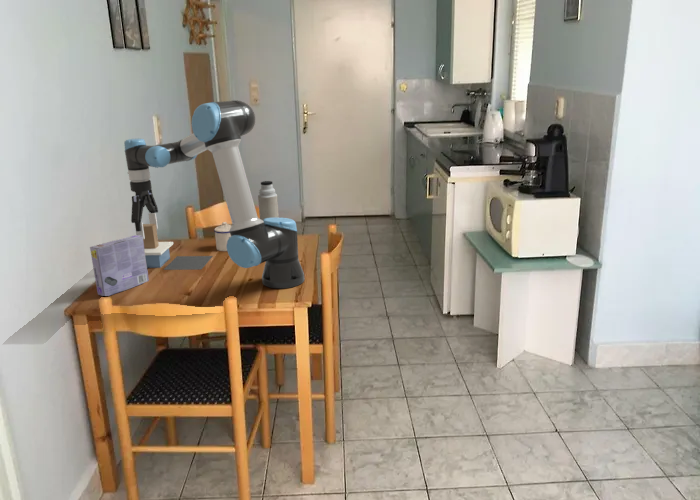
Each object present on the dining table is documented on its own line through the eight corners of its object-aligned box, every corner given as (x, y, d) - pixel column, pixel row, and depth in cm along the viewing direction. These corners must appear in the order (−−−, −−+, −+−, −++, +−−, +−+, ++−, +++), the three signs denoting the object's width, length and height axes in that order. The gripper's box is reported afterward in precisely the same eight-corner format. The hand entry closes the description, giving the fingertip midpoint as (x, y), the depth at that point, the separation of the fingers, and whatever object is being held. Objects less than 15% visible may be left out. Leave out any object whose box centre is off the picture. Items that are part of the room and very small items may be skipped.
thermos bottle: (273, 242, 252) (268, 179, 243) (284, 245, 246) (280, 181, 237) (258, 246, 246) (253, 182, 238) (269, 249, 241) (264, 184, 232)
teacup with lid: (230, 253, 238) (227, 226, 235) (211, 251, 242) (209, 224, 238) (245, 244, 249) (243, 218, 245) (227, 242, 252) (225, 217, 249)
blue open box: (160, 268, 222) (158, 253, 220) (132, 268, 223) (130, 254, 221) (170, 259, 233) (168, 245, 231) (143, 259, 233) (141, 245, 231)
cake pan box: (144, 278, 212) (137, 232, 207) (152, 280, 210) (145, 234, 204) (96, 295, 197) (88, 246, 192) (105, 298, 195) (96, 249, 189)
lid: (160, 255, 219) (157, 229, 216) (125, 255, 220) (121, 230, 216) (173, 244, 232) (170, 220, 229) (139, 244, 233) (136, 220, 230)
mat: (201, 270, 219) (201, 269, 219) (163, 270, 220) (163, 269, 220) (213, 256, 234) (213, 255, 234) (177, 257, 235) (177, 256, 235)
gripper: (143, 174, 229) (150, 225, 236) (116, 187, 206) (125, 243, 212) (161, 173, 229) (168, 225, 235) (136, 186, 205) (144, 243, 212)
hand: (147, 233), depth 224 cm, fingers open, 13 cm apart
